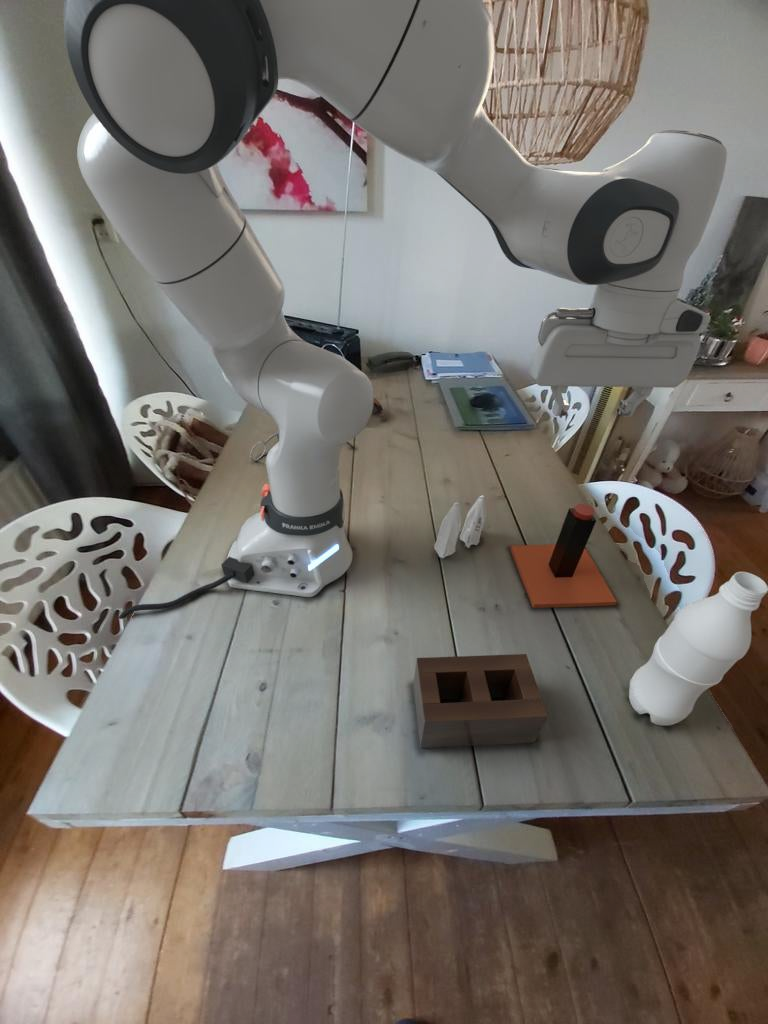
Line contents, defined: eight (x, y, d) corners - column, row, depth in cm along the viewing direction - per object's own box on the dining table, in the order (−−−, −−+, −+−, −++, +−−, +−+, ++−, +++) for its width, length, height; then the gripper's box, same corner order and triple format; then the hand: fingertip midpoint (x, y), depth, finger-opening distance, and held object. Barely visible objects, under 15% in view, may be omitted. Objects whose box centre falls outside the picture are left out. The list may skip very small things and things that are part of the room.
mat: (533, 608, 73) (534, 604, 72) (509, 549, 84) (510, 545, 83) (615, 605, 73) (617, 601, 73) (581, 547, 84) (583, 543, 84)
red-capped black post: (554, 577, 77) (578, 516, 68) (548, 564, 79) (570, 503, 70) (572, 577, 77) (598, 515, 68) (565, 563, 79) (590, 502, 71)
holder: (534, 743, 56) (548, 716, 52) (420, 748, 55) (424, 722, 51) (515, 681, 62) (526, 653, 58) (413, 685, 62) (416, 657, 57)
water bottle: (656, 741, 56) (768, 621, 41) (611, 694, 61) (694, 570, 45) (692, 716, 59) (809, 594, 43) (645, 672, 64) (735, 549, 48)
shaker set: (440, 566, 80) (447, 519, 73) (425, 553, 82) (430, 506, 75) (486, 540, 85) (497, 495, 78) (471, 528, 88) (480, 483, 81)
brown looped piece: (388, 427, 121) (376, 406, 114) (358, 439, 123) (344, 420, 117) (384, 398, 128) (371, 377, 121) (355, 411, 130) (341, 391, 124)
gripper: (554, 314, 50) (526, 424, 59) (725, 318, 51) (672, 425, 60) (536, 300, 55) (512, 404, 64) (692, 304, 56) (648, 405, 65)
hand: (591, 414), depth 62 cm, fingers open, 8 cm apart
